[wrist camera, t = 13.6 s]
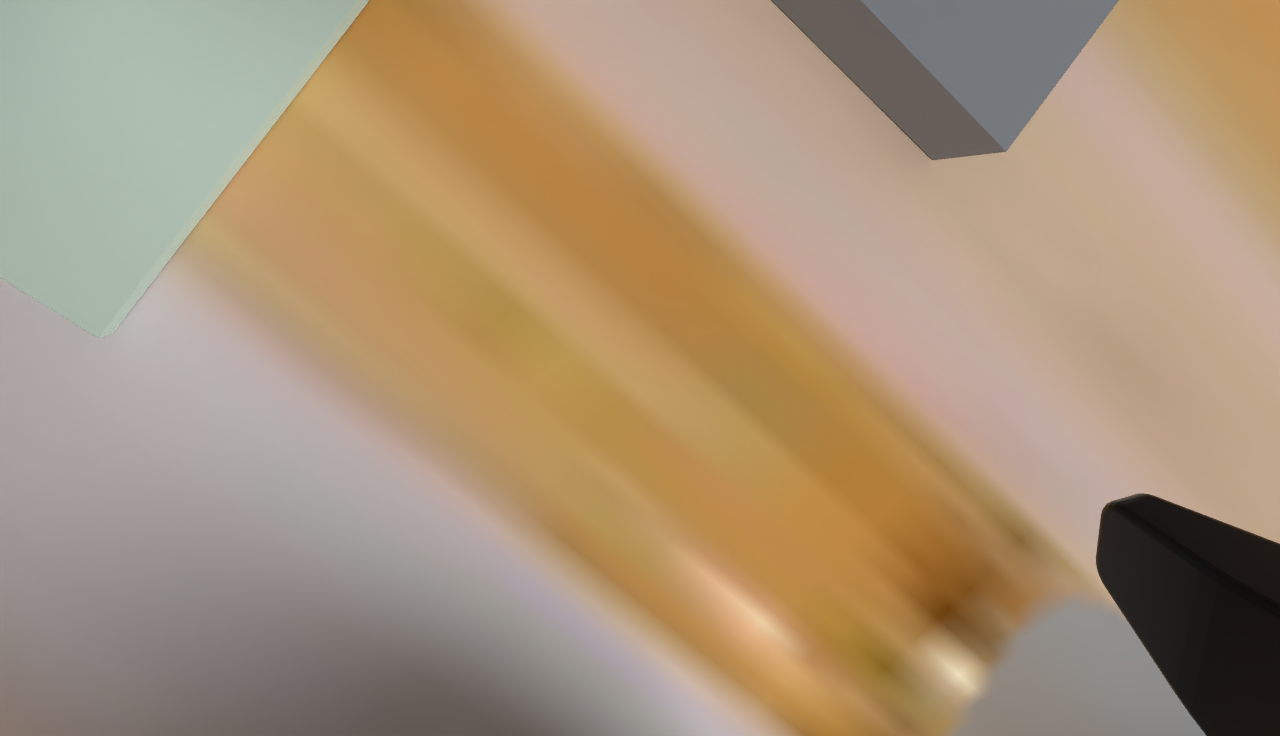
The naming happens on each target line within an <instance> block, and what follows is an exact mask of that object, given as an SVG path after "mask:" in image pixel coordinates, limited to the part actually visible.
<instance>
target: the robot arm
mask: <svg viewBox="0 0 1280 736" xmlns="http://www.w3.org/2000/svg"><path fill="white" fill-rule="evenodd" d="M1096 565H1097V570H1098V573H1099V576H1100V578H1101V580H1102V582H1103V584H1104V586H1105V587H1106V589H1107V590H1108V592H1109V593H1110V595H1111V596H1112V598H1113V599H1114V601H1115V602H1116V604H1117V605H1118V607H1119V609H1120V610H1121V612H1122V613H1123V615H1124V616H1125V618H1126V619H1127V621H1128V622H1129V624H1130V625H1131V627H1132V628H1133V630H1134V631H1135V633H1136V634H1137V636H1138V637H1139V639H1140V640H1141V642H1142V643H1143V645H1144V647H1145V648H1146V650H1147V651H1148V652H1149V654H1150V656H1151V657H1152V659H1153V660H1154V662H1155V663H1156V665H1157V666H1158V668H1159V669H1160V671H1161V672H1162V674H1163V675H1164V677H1165V678H1166V680H1167V682H1168V683H1169V685H1170V686H1171V688H1172V689H1173V691H1174V692H1175V694H1176V695H1177V696H1178V698H1179V699H1180V701H1181V702H1182V704H1183V705H1184V706H1185V708H1186V709H1187V711H1188V712H1189V714H1190V715H1191V716H1192V717H1193V719H1194V720H1195V721H1196V723H1197V724H1198V725H1199V726H1200V728H1201V729H1202V730H1203V732H1204V733H1205V734H1206V735H1207V736H1280V544H1279V543H1276V542H1274V541H1271V540H1268V539H1266V538H1263V537H1261V536H1258V535H1255V534H1253V533H1250V532H1248V531H1245V530H1242V529H1240V528H1237V527H1234V526H1232V525H1229V524H1227V523H1224V522H1221V521H1219V520H1216V519H1214V518H1211V517H1208V516H1206V515H1203V514H1200V513H1198V512H1195V511H1193V510H1190V509H1187V508H1185V507H1182V506H1180V505H1177V504H1174V503H1172V502H1169V501H1166V500H1164V499H1161V498H1159V497H1156V496H1153V495H1150V494H1135V495H1132V496H1128V497H1125V498H1122V499H1118V500H1115V501H1111V502H1109V503H1107V504H1106V505H1105V507H1104V508H1103V510H1102V513H1101V520H1100V528H1099V537H1098V545H1097V553H1096Z"/></svg>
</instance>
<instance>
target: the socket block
mask: <svg viewBox="0 0 1280 736" xmlns="http://www.w3.org/2000/svg"><path fill="white" fill-rule="evenodd" d="M772 1H773V2H774V3H775V4H776V5H777V6H778V7H779V8H780V9H781V10H782V11H783V12H784V13H785V14H786V15H787V16H788V17H789V18H790V19H791V20H792V21H793V22H794V23H795V24H796V25H797V26H798V27H799V28H800V29H801V30H802V31H803V32H804V33H805V34H806V35H807V36H808V37H809V38H810V39H811V40H812V41H813V42H814V43H815V44H816V45H817V46H818V47H819V48H820V49H821V50H822V51H823V52H824V53H825V54H826V55H827V56H828V57H829V58H830V59H831V60H832V61H833V62H834V63H835V64H836V65H837V66H838V67H839V68H840V69H841V70H842V71H843V72H844V73H845V74H846V75H847V76H848V77H849V78H850V79H851V80H852V81H853V82H854V83H855V84H856V85H857V86H858V87H859V88H860V89H861V90H862V91H863V92H864V93H865V94H866V95H867V96H868V97H869V98H870V99H871V100H872V101H873V102H874V103H875V104H876V105H877V106H878V107H879V108H880V109H881V110H882V111H883V112H884V113H885V114H886V115H888V116H889V117H890V118H891V119H892V120H893V121H894V122H895V123H896V124H897V125H898V126H899V127H900V128H901V129H902V130H903V131H904V132H905V133H906V134H907V135H908V136H909V137H910V138H911V139H912V140H913V141H914V142H915V143H916V144H917V145H918V146H919V147H920V148H921V149H922V150H923V151H924V152H925V153H926V154H927V155H928V156H929V157H930V158H931V159H932V160H938V159H947V158H955V157H964V156H973V155H981V154H990V153H998V152H1006V151H1007V150H1008V148H1009V147H1010V146H1011V144H1012V143H1013V142H1014V140H1015V139H1016V138H1017V136H1018V135H1019V134H1020V132H1021V131H1022V130H1023V128H1024V127H1025V126H1026V124H1027V123H1028V122H1029V120H1030V119H1031V118H1032V116H1033V115H1034V113H1035V112H1036V111H1037V109H1038V108H1039V107H1040V105H1041V104H1042V103H1043V101H1044V100H1045V99H1046V97H1047V96H1048V95H1049V93H1050V92H1051V91H1052V89H1053V88H1054V87H1055V85H1056V84H1057V83H1058V81H1059V80H1060V79H1061V77H1062V76H1063V75H1064V73H1065V72H1066V71H1067V69H1068V68H1069V67H1070V65H1071V64H1072V62H1073V61H1074V60H1075V58H1076V57H1077V56H1078V54H1079V53H1080V52H1081V50H1082V49H1083V48H1084V46H1085V45H1086V44H1087V42H1088V41H1089V40H1090V38H1091V37H1092V36H1093V34H1094V33H1095V32H1096V30H1097V29H1098V28H1099V26H1100V25H1101V24H1102V22H1103V21H1104V20H1105V18H1106V17H1107V16H1108V14H1109V13H1110V12H1111V10H1112V9H1113V7H1114V6H1115V5H1116V3H1117V2H1118V1H1119V0H772Z"/></svg>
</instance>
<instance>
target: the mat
mask: <svg viewBox="0 0 1280 736" xmlns="http://www.w3.org/2000/svg"><path fill="white" fill-rule="evenodd" d="M368 2H369V0H0V278H1V279H3V280H4V281H6V282H8V283H9V284H11V285H13V286H14V287H16V288H17V289H19V290H21V291H22V292H24V293H25V294H27V295H29V296H30V297H32V298H33V299H35V300H37V301H38V302H40V303H42V304H43V305H45V306H46V307H48V308H50V309H51V310H53V311H54V312H56V313H58V314H59V315H61V316H62V317H64V318H66V319H67V320H69V321H70V322H72V323H74V324H75V325H77V326H79V327H80V328H82V329H83V330H85V331H87V332H88V333H90V334H91V335H93V336H95V337H96V338H101V337H103V336H106V335H109V334H111V333H113V332H114V331H115V330H116V329H117V327H118V326H119V325H120V323H121V322H122V321H123V319H124V318H125V317H126V316H127V314H128V313H129V312H130V310H131V309H132V308H133V307H134V305H135V304H136V303H137V301H138V300H139V299H140V297H141V296H142V295H143V294H144V292H145V291H146V290H147V288H148V287H149V286H150V284H151V283H152V282H153V281H154V279H155V278H156V277H157V275H158V274H159V273H160V271H161V270H162V269H163V268H164V266H165V265H166V264H167V262H168V261H169V260H170V259H171V257H172V256H173V255H174V253H175V252H176V251H177V249H178V248H179V247H180V246H181V244H182V243H183V242H184V240H185V239H186V238H187V236H188V235H189V234H190V233H191V231H192V230H193V229H194V227H195V226H196V225H197V223H198V222H199V221H200V220H201V218H202V217H203V216H204V214H205V213H206V212H207V211H208V209H209V208H210V207H211V205H212V204H213V203H214V201H215V200H216V199H217V198H218V196H219V195H220V194H221V192H222V191H223V190H224V188H225V187H226V186H227V185H228V183H229V182H230V181H231V179H232V178H233V177H234V176H235V174H236V173H237V172H238V170H239V169H240V168H241V166H242V165H243V164H244V163H245V161H246V160H247V159H248V157H249V156H250V155H251V153H252V152H253V151H254V150H255V148H256V147H257V146H258V144H259V143H260V142H261V140H262V139H263V138H264V137H265V135H266V134H267V133H268V131H269V130H270V129H271V128H272V126H273V125H274V124H275V122H276V121H277V120H278V118H279V117H280V116H281V115H282V113H283V112H284V111H285V109H286V108H287V107H288V105H289V104H290V103H291V102H292V100H293V99H294V98H295V96H296V95H297V94H298V92H299V91H300V90H301V89H302V87H303V86H304V85H305V83H306V82H307V81H308V80H309V78H310V77H311V76H312V74H313V73H314V72H315V70H316V69H317V68H318V67H319V65H320V64H321V63H322V61H323V60H324V59H325V57H326V56H327V55H328V54H329V52H330V51H331V50H332V48H333V47H334V46H335V45H336V43H337V42H338V41H339V39H340V38H341V37H342V35H343V34H344V33H345V32H346V30H347V29H348V28H349V26H350V25H351V24H352V22H353V21H354V20H355V19H356V17H357V16H358V15H359V13H360V12H361V11H362V9H363V8H364V7H365V6H366V4H367V3H368Z"/></svg>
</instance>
